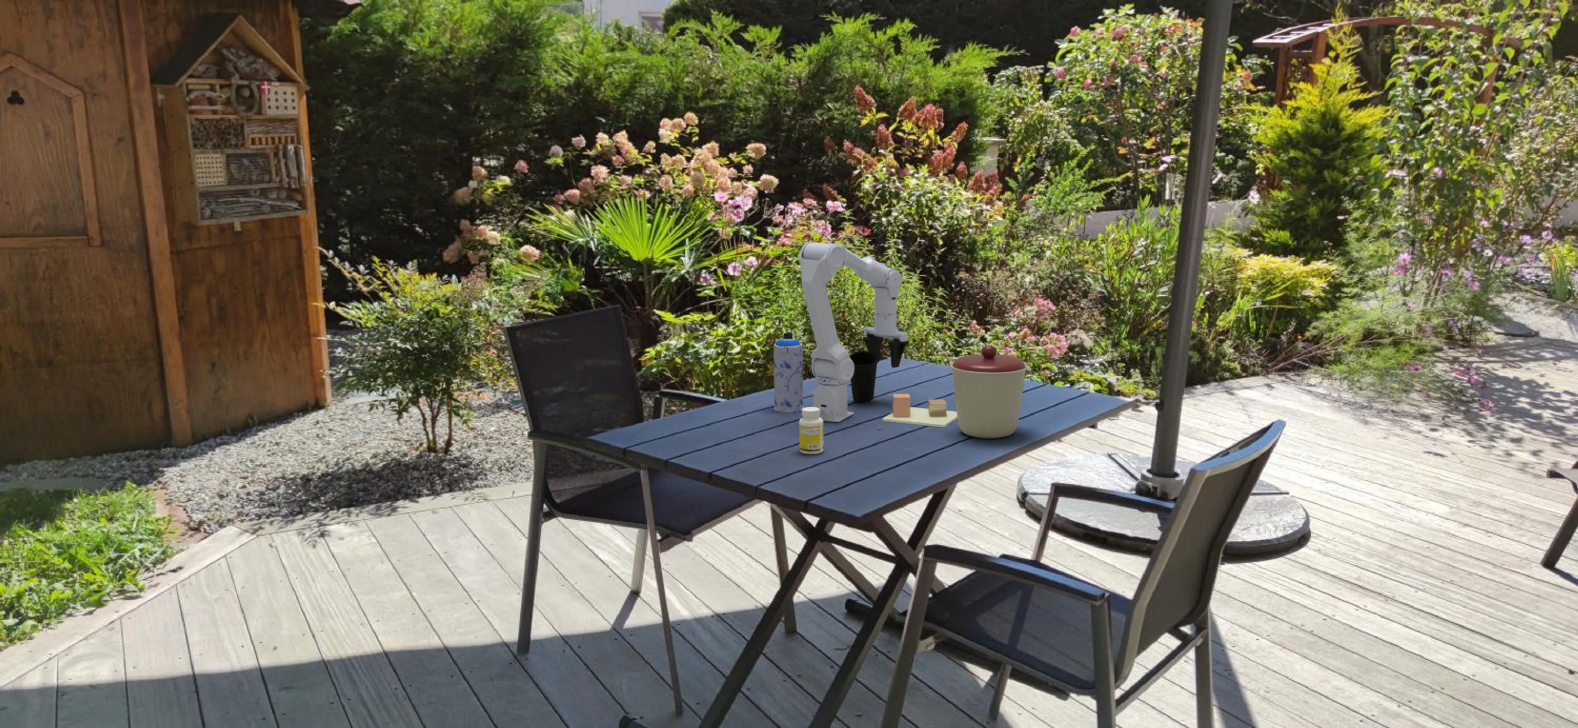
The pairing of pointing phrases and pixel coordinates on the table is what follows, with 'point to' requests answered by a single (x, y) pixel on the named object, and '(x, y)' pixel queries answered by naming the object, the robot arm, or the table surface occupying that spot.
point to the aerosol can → (788, 374)
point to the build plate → (923, 418)
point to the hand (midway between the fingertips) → (885, 365)
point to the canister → (988, 393)
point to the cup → (863, 376)
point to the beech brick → (937, 408)
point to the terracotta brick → (901, 405)
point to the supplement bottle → (811, 431)
